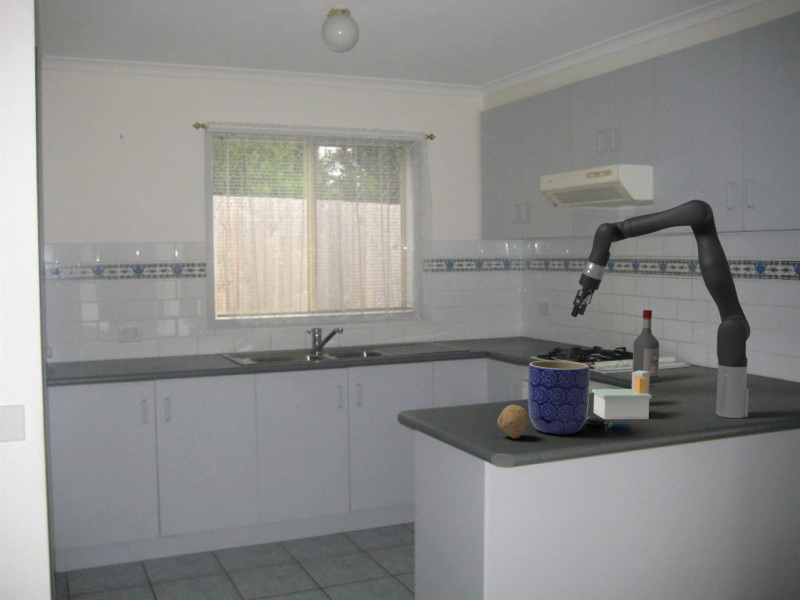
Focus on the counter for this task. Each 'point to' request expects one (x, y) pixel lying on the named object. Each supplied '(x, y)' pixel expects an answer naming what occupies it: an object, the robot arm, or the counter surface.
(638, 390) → the lid
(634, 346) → the liquor
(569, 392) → the planter
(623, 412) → the tub
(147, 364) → the counter surface
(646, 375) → the skincare box
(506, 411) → the potato
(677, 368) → the counter surface
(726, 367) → the robot arm
